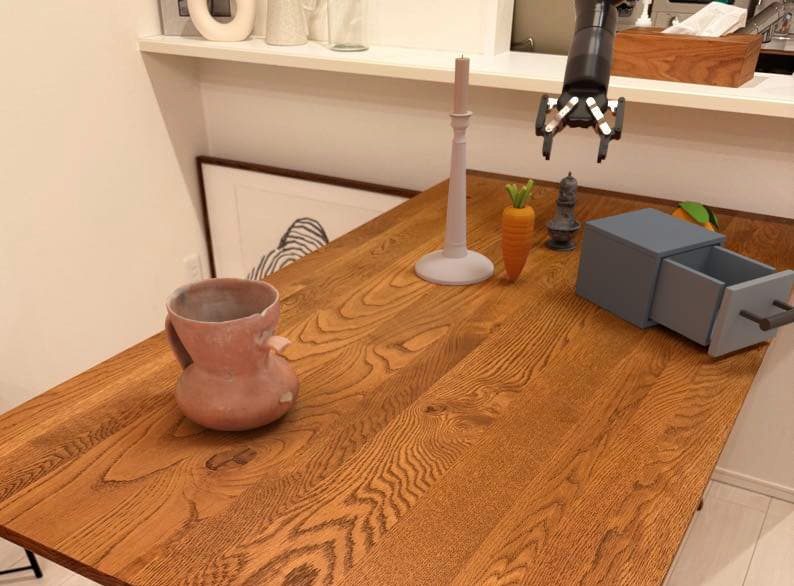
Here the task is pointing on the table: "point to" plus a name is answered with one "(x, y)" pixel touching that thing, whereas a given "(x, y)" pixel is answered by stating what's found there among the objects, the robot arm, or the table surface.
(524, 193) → the carrot
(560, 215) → the salt shaker
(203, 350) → the ceramic jug
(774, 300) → the drawer
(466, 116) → the candlestick
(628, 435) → the table surface
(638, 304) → the cabinet
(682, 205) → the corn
